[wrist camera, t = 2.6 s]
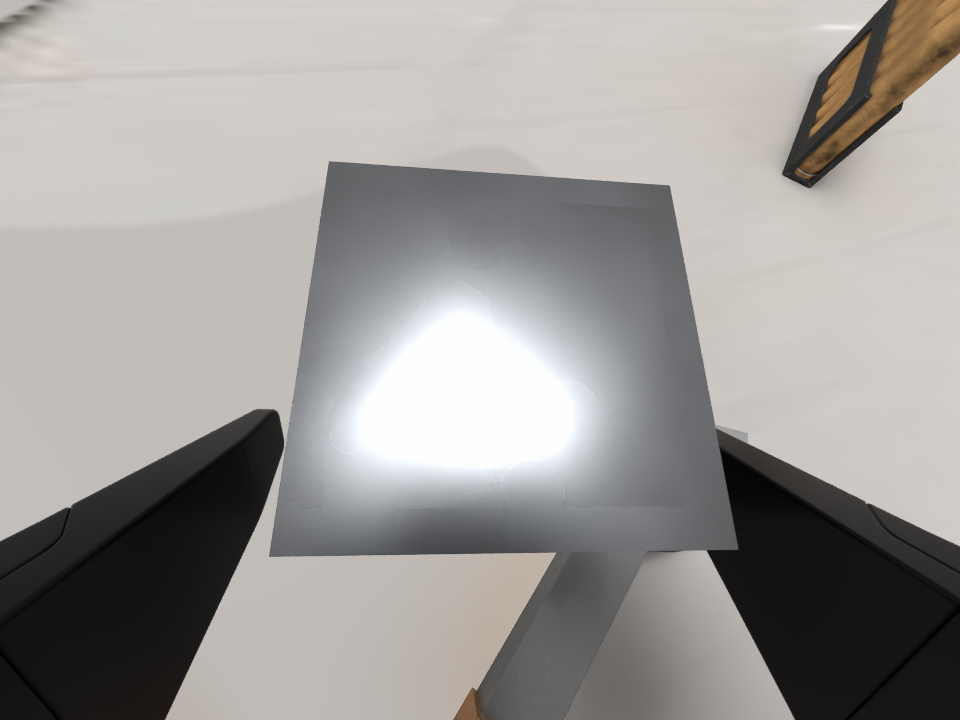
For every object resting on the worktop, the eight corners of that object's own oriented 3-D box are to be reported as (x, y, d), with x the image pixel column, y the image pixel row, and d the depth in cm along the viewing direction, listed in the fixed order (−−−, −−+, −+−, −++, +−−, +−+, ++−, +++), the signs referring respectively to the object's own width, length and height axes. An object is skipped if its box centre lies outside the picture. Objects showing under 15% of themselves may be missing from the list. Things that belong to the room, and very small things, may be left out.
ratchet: (432, 1061, 12) (426, 1449, 7) (279, 911, 12) (179, 1171, 8) (720, 457, 18) (818, 444, 14) (610, 381, 19) (667, 344, 14)
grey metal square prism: (528, 509, 17) (738, 549, 5) (393, 509, 16) (269, 555, 4) (523, 381, 18) (670, 185, 7) (402, 378, 18) (328, 161, 6)
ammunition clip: (819, 74, 28) (1080, -215, 16) (844, 85, 28) (1125, -198, 16) (781, 175, 24) (1078, -102, 13) (809, 189, 24) (1134, -79, 13)
